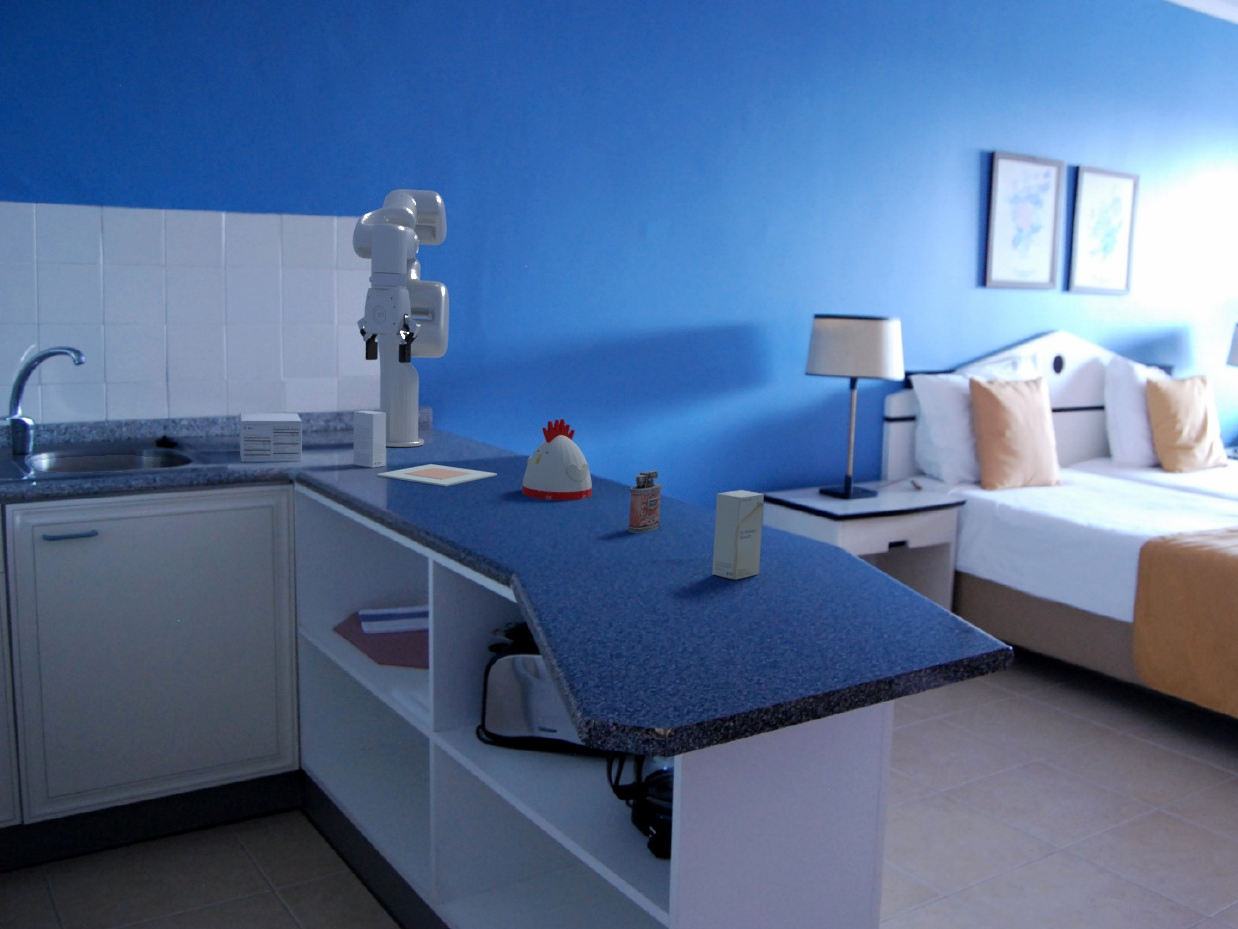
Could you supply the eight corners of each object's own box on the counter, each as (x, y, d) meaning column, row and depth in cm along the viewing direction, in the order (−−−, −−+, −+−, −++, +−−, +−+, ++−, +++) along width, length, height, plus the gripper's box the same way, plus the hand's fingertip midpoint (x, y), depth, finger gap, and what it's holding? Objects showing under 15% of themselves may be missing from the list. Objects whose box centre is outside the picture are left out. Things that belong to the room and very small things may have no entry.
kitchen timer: (508, 491, 214) (510, 417, 212) (557, 485, 224) (560, 414, 222) (556, 503, 205) (558, 425, 203) (605, 495, 215) (608, 421, 213)
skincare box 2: (735, 581, 154) (740, 498, 152) (710, 574, 156) (715, 493, 155) (760, 574, 158) (765, 493, 156) (735, 568, 161) (741, 488, 159)
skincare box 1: (386, 466, 238) (386, 412, 236) (372, 468, 234) (372, 413, 233) (366, 462, 241) (367, 410, 239) (352, 464, 238) (352, 411, 236)
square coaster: (376, 475, 225) (376, 473, 225) (430, 465, 241) (430, 463, 241) (445, 486, 217) (445, 483, 217) (496, 475, 232) (496, 473, 232)
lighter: (640, 534, 181) (643, 475, 180) (623, 531, 183) (626, 473, 182) (663, 526, 188) (666, 470, 187) (647, 523, 190) (650, 468, 188)
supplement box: (302, 462, 239) (302, 420, 238) (240, 462, 235) (240, 420, 233) (298, 450, 255) (298, 411, 254) (239, 451, 251) (239, 411, 249)
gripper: (347, 280, 234) (346, 359, 236) (407, 282, 225) (406, 364, 228) (371, 281, 240) (370, 358, 243) (430, 283, 231) (429, 363, 234)
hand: (387, 361), depth 235 cm, fingers open, 9 cm apart
